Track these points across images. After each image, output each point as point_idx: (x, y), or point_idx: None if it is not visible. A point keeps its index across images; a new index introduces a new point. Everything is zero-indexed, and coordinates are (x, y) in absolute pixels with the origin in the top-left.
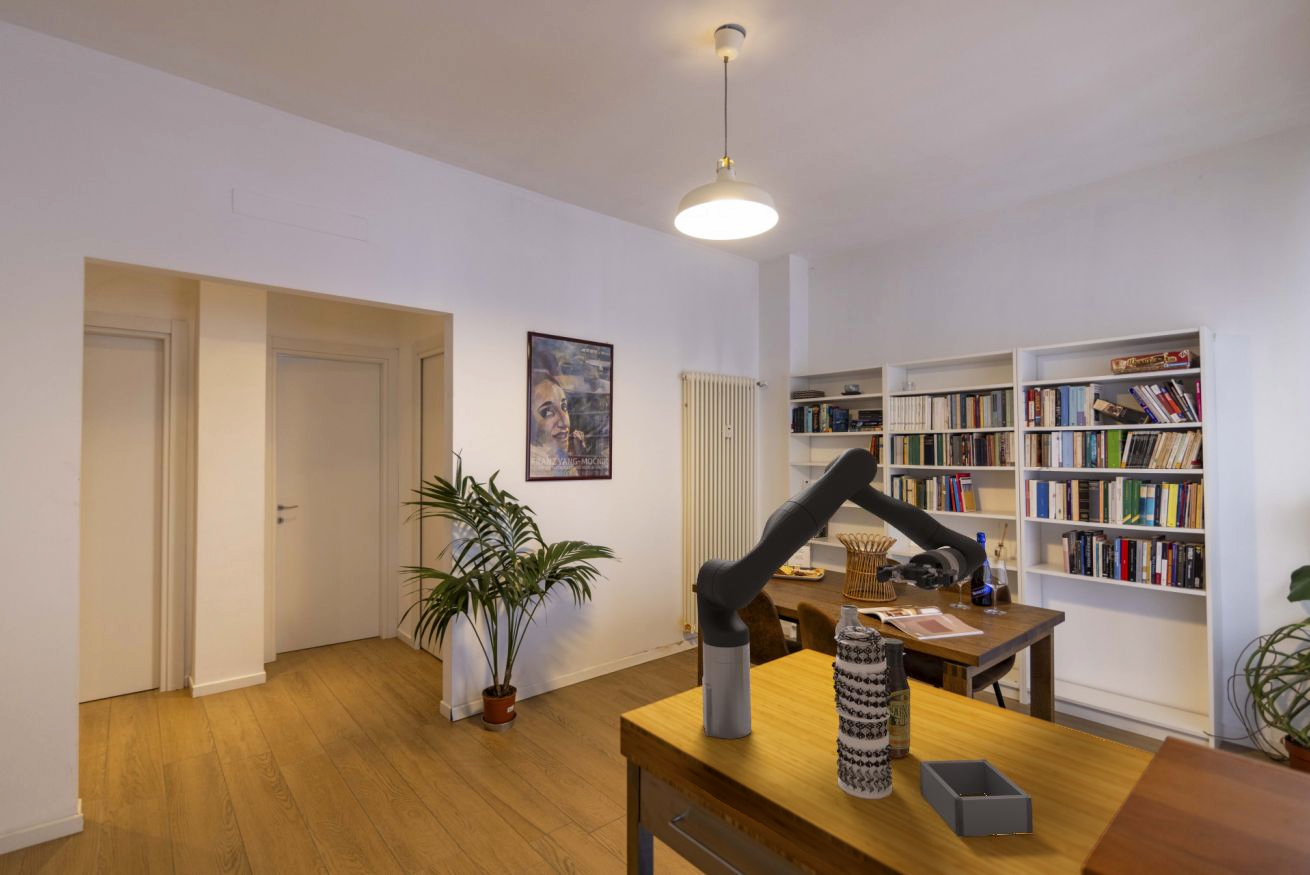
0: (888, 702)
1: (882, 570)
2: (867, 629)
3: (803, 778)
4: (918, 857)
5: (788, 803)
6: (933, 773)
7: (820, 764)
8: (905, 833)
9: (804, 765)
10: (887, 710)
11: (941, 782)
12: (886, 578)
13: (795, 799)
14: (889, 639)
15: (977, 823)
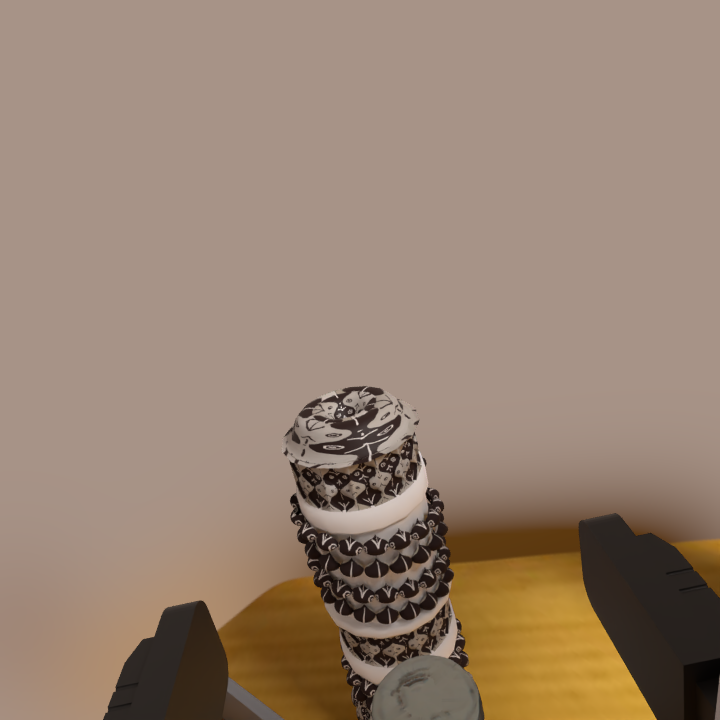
0: (315, 574)
1: (641, 563)
2: (331, 419)
3: (514, 635)
4: (254, 613)
5: (461, 569)
6: (254, 702)
7: (548, 706)
8: (287, 642)
9: (562, 673)
10: (337, 613)
11: (231, 683)
12: (638, 667)
13: (464, 582)
14: (445, 710)
15: None
